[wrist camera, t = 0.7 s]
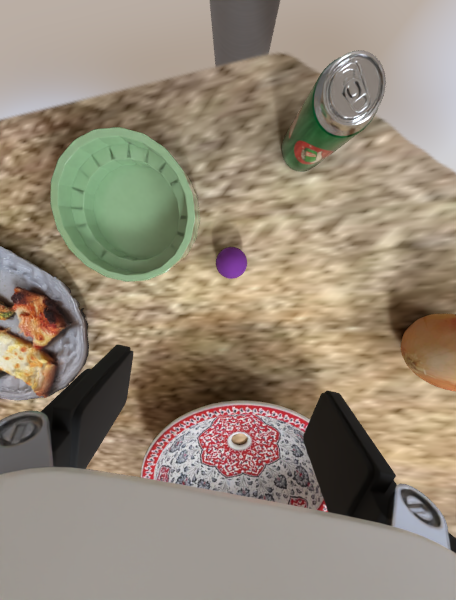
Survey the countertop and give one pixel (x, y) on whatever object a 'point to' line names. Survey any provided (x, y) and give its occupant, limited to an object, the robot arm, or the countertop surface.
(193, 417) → the ceramic bowl
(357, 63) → the soda can
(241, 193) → the countertop surface
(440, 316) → the onion
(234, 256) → the ball
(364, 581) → the robot arm
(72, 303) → the food plate
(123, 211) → the green bowl
